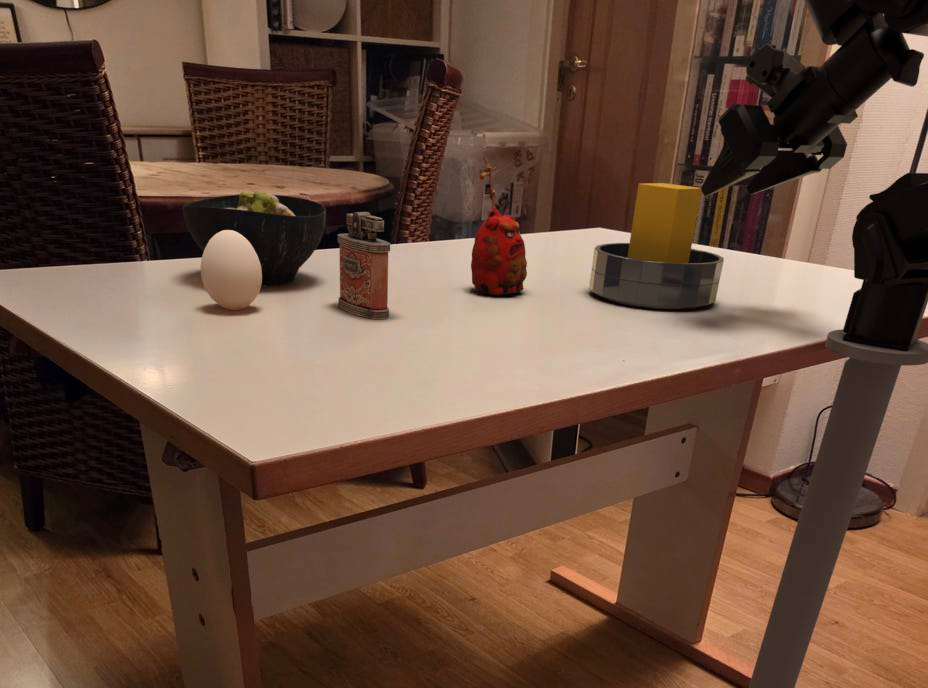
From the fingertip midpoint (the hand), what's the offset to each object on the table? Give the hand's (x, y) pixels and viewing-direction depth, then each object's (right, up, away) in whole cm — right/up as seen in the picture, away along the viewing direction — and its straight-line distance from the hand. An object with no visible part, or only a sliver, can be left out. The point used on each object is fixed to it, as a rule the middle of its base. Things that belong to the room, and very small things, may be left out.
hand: (726, 191), depth 101 cm
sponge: (-6, -7, +12) cm, 15 cm away
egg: (-56, -16, -6) cm, 59 cm away
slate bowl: (-6, -8, +12) cm, 15 cm away
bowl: (-56, -7, +8) cm, 57 cm away
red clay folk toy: (-27, -8, +10) cm, 29 cm away
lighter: (-42, -16, -4) cm, 45 cm away
